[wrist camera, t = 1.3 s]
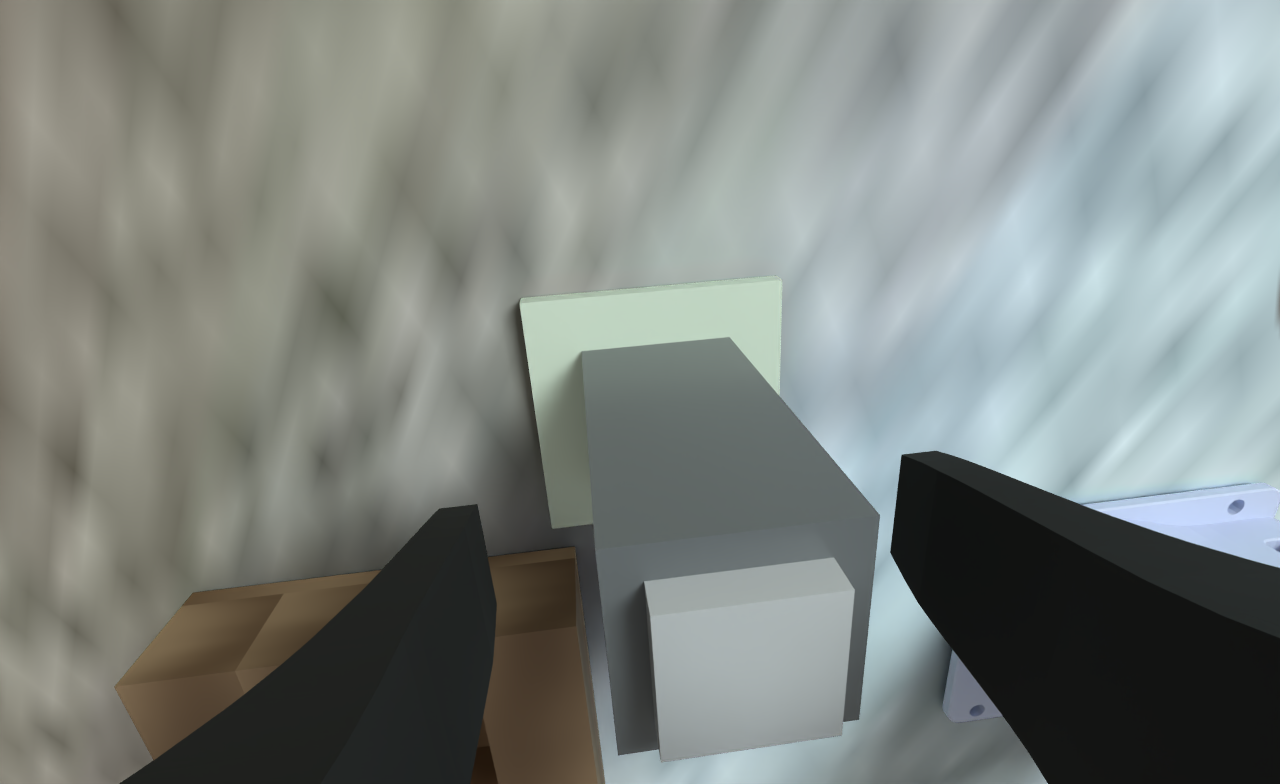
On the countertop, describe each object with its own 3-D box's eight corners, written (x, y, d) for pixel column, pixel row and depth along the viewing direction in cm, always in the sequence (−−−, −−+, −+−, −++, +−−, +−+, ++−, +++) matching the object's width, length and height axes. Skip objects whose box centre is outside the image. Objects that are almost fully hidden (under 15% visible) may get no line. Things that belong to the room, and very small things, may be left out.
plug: (729, 336, 14) (904, 544, 7) (730, 466, 16) (878, 758, 8) (581, 351, 14) (596, 583, 7) (595, 481, 15) (621, 797, 8)
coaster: (775, 275, 14) (782, 280, 14) (771, 492, 17) (776, 502, 16) (521, 298, 14) (519, 303, 14) (552, 518, 16) (551, 528, 16)
